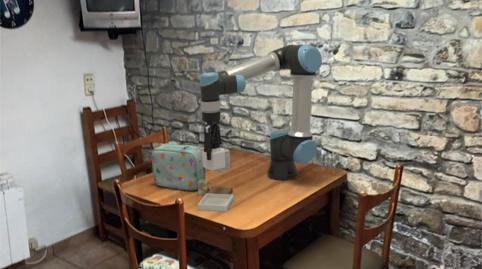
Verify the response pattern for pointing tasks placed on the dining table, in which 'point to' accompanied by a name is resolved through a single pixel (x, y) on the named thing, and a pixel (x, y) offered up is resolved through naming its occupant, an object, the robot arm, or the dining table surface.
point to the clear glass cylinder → (203, 187)
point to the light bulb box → (227, 160)
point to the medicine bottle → (215, 156)
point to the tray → (216, 202)
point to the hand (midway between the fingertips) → (213, 163)
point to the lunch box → (178, 166)
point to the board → (221, 190)
